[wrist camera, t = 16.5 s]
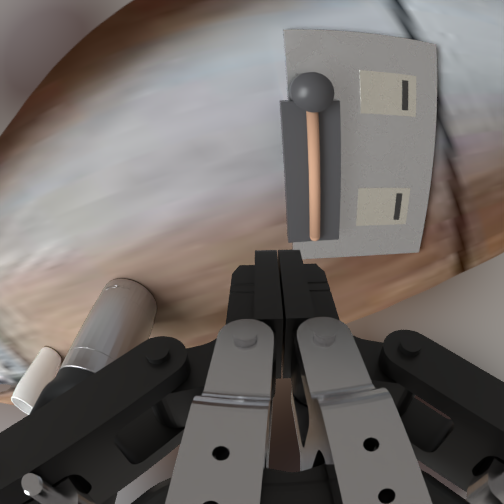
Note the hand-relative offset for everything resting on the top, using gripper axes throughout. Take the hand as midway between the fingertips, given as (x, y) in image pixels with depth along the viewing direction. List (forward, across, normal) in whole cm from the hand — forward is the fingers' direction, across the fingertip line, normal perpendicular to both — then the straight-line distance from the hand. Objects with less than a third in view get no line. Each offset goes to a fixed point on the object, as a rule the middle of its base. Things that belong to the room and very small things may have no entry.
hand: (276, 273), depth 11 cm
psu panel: (+27, -12, 0) cm, 30 cm away
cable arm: (+26, -5, +1) cm, 26 cm away
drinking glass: (+29, +46, +39) cm, 66 cm away
